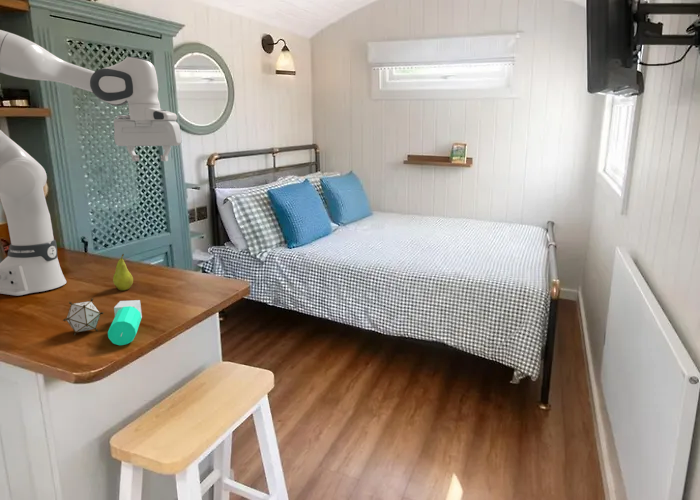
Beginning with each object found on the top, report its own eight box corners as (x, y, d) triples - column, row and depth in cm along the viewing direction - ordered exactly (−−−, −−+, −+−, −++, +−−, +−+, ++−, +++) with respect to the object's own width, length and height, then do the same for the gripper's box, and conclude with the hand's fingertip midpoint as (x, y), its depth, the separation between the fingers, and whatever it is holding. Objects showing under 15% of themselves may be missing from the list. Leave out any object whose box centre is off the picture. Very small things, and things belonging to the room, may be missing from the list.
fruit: (120, 287, 156) (115, 250, 153) (137, 287, 156) (133, 250, 153) (110, 293, 151) (105, 255, 148) (128, 293, 150) (124, 255, 147)
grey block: (116, 326, 125) (113, 307, 124) (122, 318, 130) (120, 301, 129) (136, 324, 126) (134, 306, 125) (142, 317, 131) (140, 300, 130)
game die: (58, 335, 114) (52, 315, 121) (92, 347, 120) (84, 327, 127) (82, 304, 115) (74, 286, 122) (115, 317, 121) (105, 299, 128)
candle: (113, 326, 123) (104, 346, 111) (117, 304, 122) (108, 322, 110) (139, 330, 124) (132, 349, 113) (143, 307, 124) (137, 325, 112)
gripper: (107, 114, 146) (112, 161, 150) (172, 113, 144) (176, 161, 147) (119, 115, 152) (124, 160, 156) (181, 114, 150) (185, 160, 153)
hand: (150, 161), depth 151 cm, fingers open, 8 cm apart
